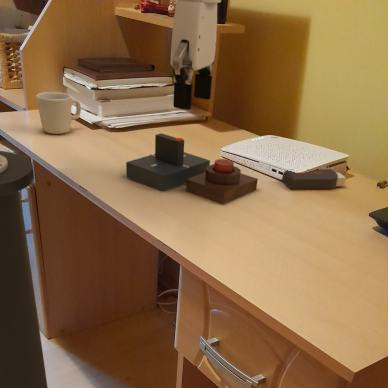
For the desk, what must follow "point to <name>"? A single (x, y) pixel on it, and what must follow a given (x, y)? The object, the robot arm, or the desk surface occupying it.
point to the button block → (221, 184)
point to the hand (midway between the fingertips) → (192, 103)
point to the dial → (169, 149)
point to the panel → (165, 170)
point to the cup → (56, 111)
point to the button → (223, 166)
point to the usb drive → (313, 179)
